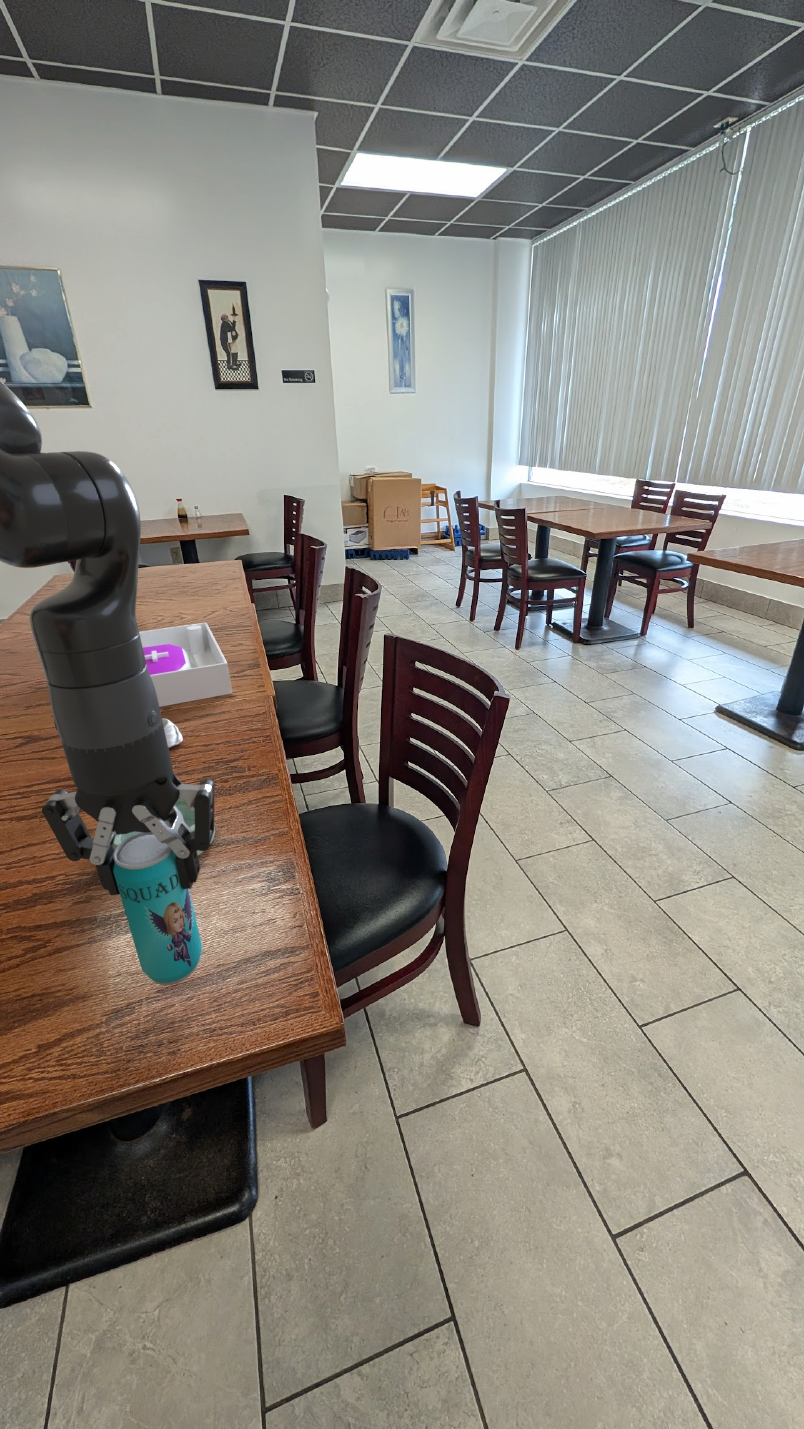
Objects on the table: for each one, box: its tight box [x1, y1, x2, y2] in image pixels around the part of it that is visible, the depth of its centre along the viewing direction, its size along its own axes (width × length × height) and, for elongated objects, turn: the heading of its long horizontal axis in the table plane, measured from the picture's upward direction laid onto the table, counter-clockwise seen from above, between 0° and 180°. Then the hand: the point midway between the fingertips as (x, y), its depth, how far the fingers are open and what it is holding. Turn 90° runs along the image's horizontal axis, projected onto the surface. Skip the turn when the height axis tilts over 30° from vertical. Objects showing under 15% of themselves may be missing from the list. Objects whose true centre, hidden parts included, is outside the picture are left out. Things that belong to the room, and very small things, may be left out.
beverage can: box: [113, 832, 203, 986], centre depth 56 cm, size 6×6×15 cm
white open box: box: [139, 622, 234, 708], centre depth 138 cm, size 22×35×7 cm, turn 24°
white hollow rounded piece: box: [162, 718, 184, 749], centre depth 107 cm, size 8×7×5 cm
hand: (153, 885), depth 54 cm, fingers closed on beverage can, 5 cm apart
